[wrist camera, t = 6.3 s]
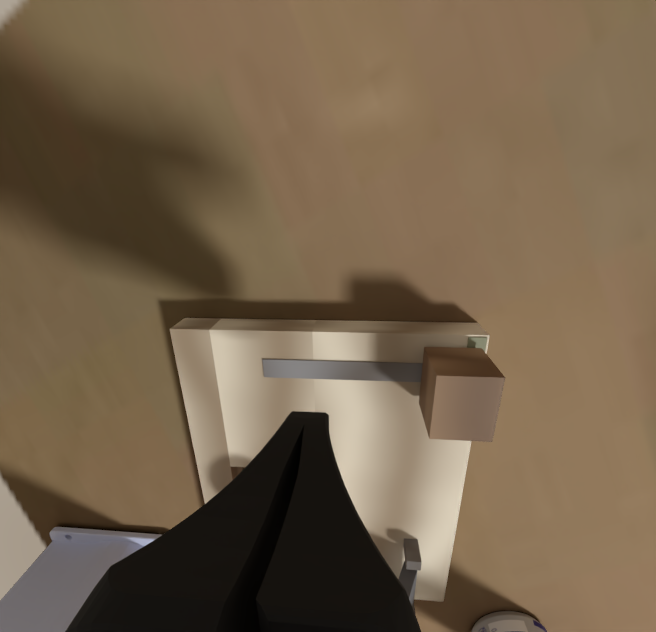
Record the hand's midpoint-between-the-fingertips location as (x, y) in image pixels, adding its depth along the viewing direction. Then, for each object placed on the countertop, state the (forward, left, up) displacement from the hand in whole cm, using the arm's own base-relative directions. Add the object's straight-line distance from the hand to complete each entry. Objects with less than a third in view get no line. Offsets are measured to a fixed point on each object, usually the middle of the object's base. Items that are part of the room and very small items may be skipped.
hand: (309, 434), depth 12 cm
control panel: (0, -7, -6) cm, 10 cm away
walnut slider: (+6, 0, -4) cm, 7 cm away
